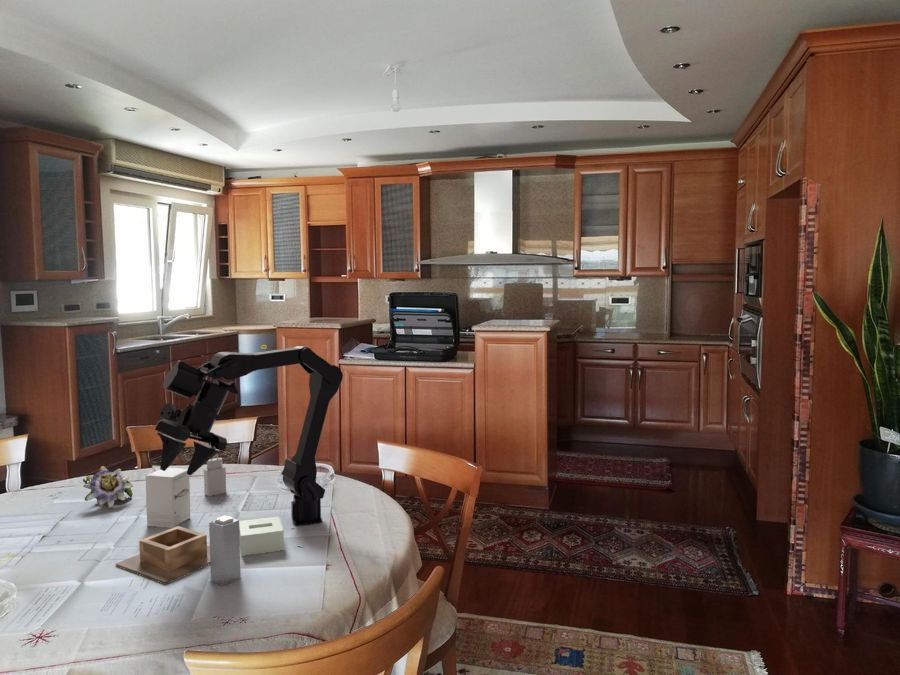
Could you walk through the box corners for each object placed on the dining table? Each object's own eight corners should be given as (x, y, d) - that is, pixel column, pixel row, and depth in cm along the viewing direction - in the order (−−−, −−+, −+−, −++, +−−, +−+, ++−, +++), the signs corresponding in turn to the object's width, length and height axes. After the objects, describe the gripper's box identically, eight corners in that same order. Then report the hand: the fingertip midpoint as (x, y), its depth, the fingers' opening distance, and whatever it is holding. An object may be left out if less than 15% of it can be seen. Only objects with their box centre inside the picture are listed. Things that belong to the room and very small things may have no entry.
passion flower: (111, 527, 172) (85, 499, 165) (92, 510, 179) (66, 483, 171) (147, 495, 178) (123, 467, 171) (127, 480, 185) (104, 453, 177)
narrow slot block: (279, 535, 154) (279, 516, 154) (283, 550, 146) (283, 530, 145) (239, 540, 151) (238, 521, 151) (241, 555, 143) (240, 535, 142)
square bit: (226, 573, 134) (225, 513, 133) (240, 578, 132) (239, 517, 131) (210, 581, 131) (208, 519, 130) (224, 586, 129) (222, 523, 128)
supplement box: (173, 529, 158) (171, 477, 156) (146, 526, 159) (144, 475, 158) (191, 517, 165) (190, 468, 164) (165, 515, 166) (163, 466, 165)
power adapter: (227, 492, 184) (226, 450, 183) (208, 496, 180) (207, 453, 179) (222, 489, 187) (220, 448, 185) (203, 494, 183) (202, 451, 182)
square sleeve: (181, 539, 151) (181, 518, 151) (230, 555, 143) (229, 532, 143) (115, 565, 137) (114, 542, 137) (165, 584, 129) (164, 559, 129)
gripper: (203, 402, 158) (174, 464, 154) (152, 384, 140) (118, 453, 137) (240, 417, 154) (211, 481, 151) (193, 401, 137) (159, 473, 134)
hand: (175, 472), depth 143 cm, fingers open, 9 cm apart
